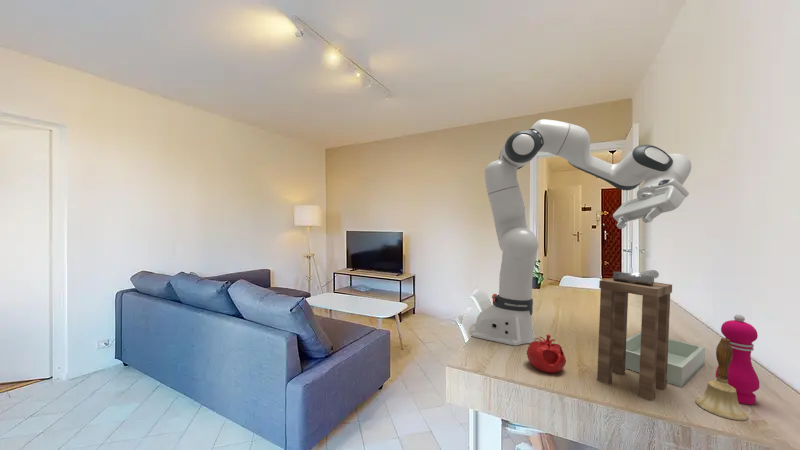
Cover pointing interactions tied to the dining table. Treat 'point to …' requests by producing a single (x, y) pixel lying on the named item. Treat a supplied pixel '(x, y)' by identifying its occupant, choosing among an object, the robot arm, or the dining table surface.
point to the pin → (637, 277)
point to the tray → (669, 359)
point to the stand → (651, 333)
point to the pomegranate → (546, 355)
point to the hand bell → (722, 388)
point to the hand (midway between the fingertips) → (632, 224)
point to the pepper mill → (741, 359)
